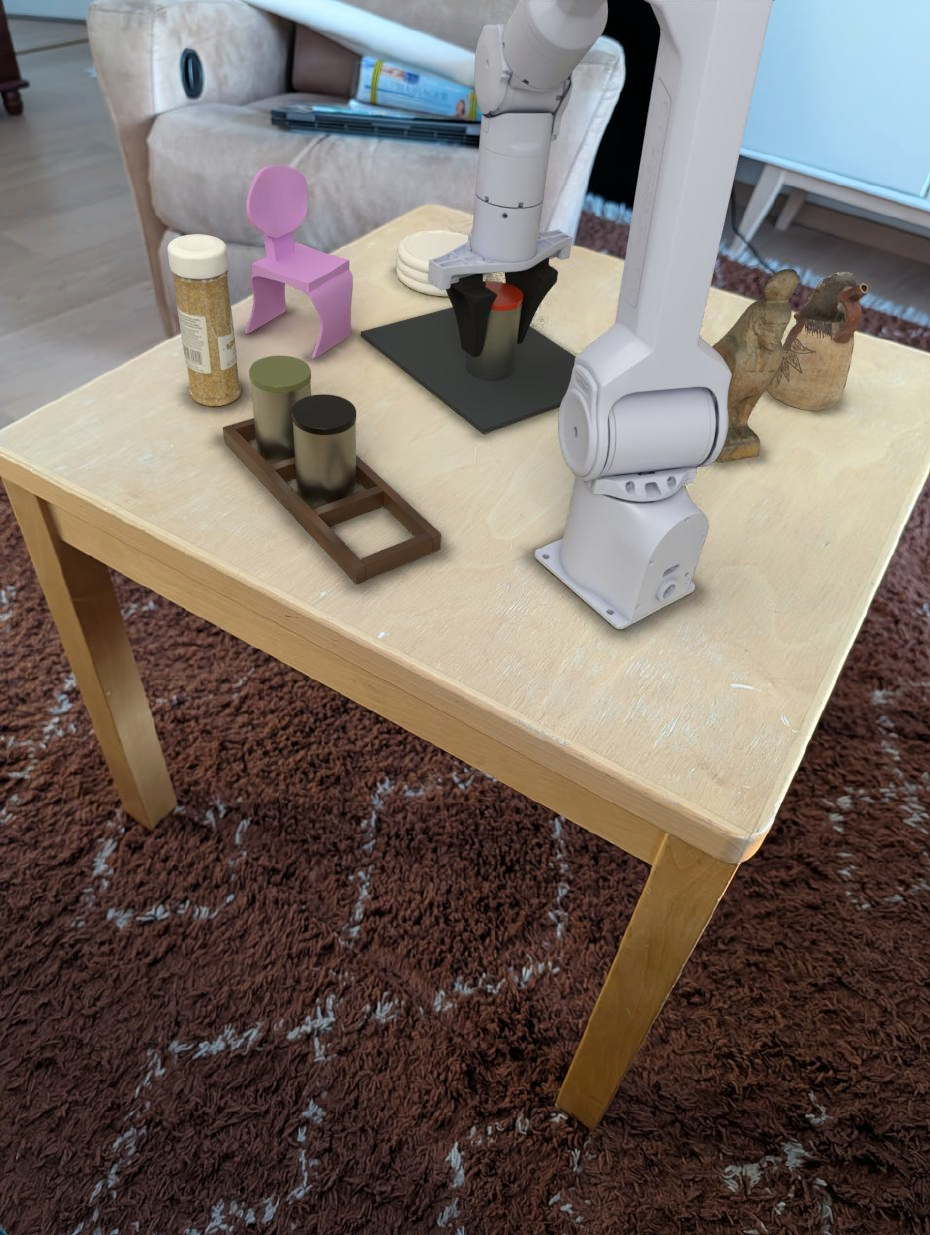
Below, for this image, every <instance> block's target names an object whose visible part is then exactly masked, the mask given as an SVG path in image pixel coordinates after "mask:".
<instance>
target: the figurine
mask: <svg viewBox="0 0 930 1235" xmlns="http://www.w3.org/2000/svg"><path fill="white" fill-rule="evenodd" d="M868 292H869V286H868V285H867V284H866V283H864V282H861V283H859V284H857V278H856V276H855V275H854V274H853V273H852V272H850V271H838V272H836V273H833V274H831V275H828V276H827V277H824V278H822V279H821V280H820V281H819V282H818V283H817V285H816V287H815V289H814V290H813V291H812V292H811V293H809V294H808V295H807V296H806V302H805V304H804V305H803V307H801V309H800V310H798V311H796V312H795V313H794V314H793V318H794V319H795V322H796V323H795V324H794V325H793V326H792V327H791V329H790V330H789V331H788V333H787V335H786V338H785V341H784V343H783V344H782V346H783V359H782V362H781V364H780V367H779V370H778V372H777V374H776V376H775V378H774V380H773V381H772V382H771V383H770V385H769V386H768V388H767V389H766V391H767V392H768V394H770V396H771V397H772V398H774V399H776V400H777V401H779V402H780V403H783V404H785V405H787V406H789V407H793V408H797V409H800V410H805V411H817V412H819V411H825V410H829V409H831V408H833V407H834V406H835V405H836V404H837V403H838V401H839V400H840V399H841V397H842V396H843V394H844V392H845V388H846V385H847V381H848V377H849V372H850V369H851V363H852V358H853V353H854V346H855V332H856V330H858V327H859V326H860V323H861V320H862V316H863V310H862V304H861V302H860V300H861V299H862V298H863V297H865V296H866V295H867V294H868Z"/></svg>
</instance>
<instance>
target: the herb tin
mask: <svg viewBox="0 0 930 1235" xmlns="http://www.w3.org/2000/svg"><path fill="white" fill-rule="evenodd" d="M248 376H249V380H250V381H249V382H250V389H251V391H250V392H251V401H252V411H253V418H254V424H255V435H256V438H255V445H256V451H257V452H258V453H259V455H260V456H261V457H262V458H263V459H264V460H265V461H266V462H267V463H268V464H269V465H272V464H275V463H278V462H281V461H284V460H287V459H290V458H293V457H295V448H294V430H293V420H292V408H293V406H294V404H295V403H296V402H298V401H299V400H301V399H302V398H305V397H308V396H311V395H312V369H311V367H310V366H309V364H308V363H307V362H306V361H304V360H303V359H301V358H298V357H294V356H290V355H270V356H265V357H262V358H260V359H258V360H256V361H254V362H253V363H252V364H251V365H250V366H249V370H248Z"/></svg>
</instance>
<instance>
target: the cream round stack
mask: <svg viewBox="0 0 930 1235" xmlns="http://www.w3.org/2000/svg"><path fill="white" fill-rule="evenodd" d="M468 235H469V234H466V233H462V232H459V231H451V230H445V229H427V230H420V231H416V232H413V233H410V234H408V235H407V236H405V237H403V238H402V239H401V240H400V241H399V243H398V244H397V247H396V254H397V257H396V265H397V266H396V275H397V278H398V280H400V282H401V283H402V284H404V285H405V286H406V287H408V288H409V289H411V290H413V291H415V292H418V293H421V294H423V295H424V294H425V295H428V296H434V297H449V296H448V294H447V292H446V290H442V291H441V290H440V289H438V288H437V287H435V286H434V285H432V284H431V283H430V282H428V271H429V260H430V259H434V258H437V257H440V256H442V255H445V254H446V253H448V252H450V251H452V250H454V249H456V248H457V247H459V246H461V245H463V244H465V243H466V242H468ZM487 278H488V275H484V276H483V281H485V282H487Z"/></svg>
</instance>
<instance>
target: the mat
mask: <svg viewBox="0 0 930 1235" xmlns="http://www.w3.org/2000/svg"><path fill="white" fill-rule="evenodd" d="M360 337H361V338H362V339H364V340H365V341H366V342H367V343H369V344H370V345H371V346H372V347H374V348H375V349H376V350H377V351H378V352H380V353H381V354H383V355H384V356H385V357H386V358H388V360H390V361H391V362H392V363H393V364H395V365H396V366H397V367H399V368H400V369H401V370H402V371H404V372H405V373H406V374H408V376H410V377H411V378H412V379H414V380H415V381H416V382H418V383H419V384H420V385H421V386H423V387H424V388H425V389H426V390H428V391H429V392H430V393H431V394H433V395H434V396H435V397H436V398H438V399H439V400H440V401H441V402H442V403H443V404H445V405H446V406H447V407H449V408H450V409H451V410H452V411H454V412H455V413H456V414H457V415H459V416H460V417H461V418H462V419H464V420H465V421H466V422H468V423H469V424H470V425H471V426H473V427H474V428H475V429H476V430H477V431H479V432H480V433H481V434H483V435H484V434H486V433H490V432H493V431H496V430H498V429H501V428H504V427H506V426H510V425H512V424H515V423H518V422H520V421H524V420H526V419H529V418H533V417H534V416H539V415H540V414H543V413H546V412H549V411H551V410H554V409H557V408H560V405H561V402H562V400H563V398H564V396H565V394H566V392H567V389H568V387H569V383H570V380H571V375H572V370H573V367H574V362H575V357H576V356H577V355H574V354H572V353H571V352H570V351H568V350H566V349H565V348H563V347H562V346H561V345H560V344H558V343H556V342H555V341H553V340H551V339H550V338H549V337H547V336H546V335H544V334H543V333H541V332H540V331H538V330H536V329H535V328H534V327H532V326H531V325H530V326H529V329H528V331H527V334H526V336H525V338H524V341H523V343H521V344H517V347H516V354H515V362H514V370H513V373H512V374H511V375H510V376H509V377H507V378H505V379H502V380H484V379H480V378H477V377H475V376H473V375H471V374H470V373H469V372H468V371H467V369H466V366H465V365H466V354H467V352H465V351H464V350H463V349H462V348H461V341H460V335H459V329H458V324H457V320H456V316H455V312H454V309H453V306H451V307H447V308H444V309H439V310H436V311H432V312H429V313H425V314H421V315H418V316H414V317H410V318H406V319H403V320H398V321H396V322H395V321H394V322H392V323H388V324H383V325H379V326H377V327H373V328H369V329H365V330H362V331H360Z"/></svg>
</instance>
